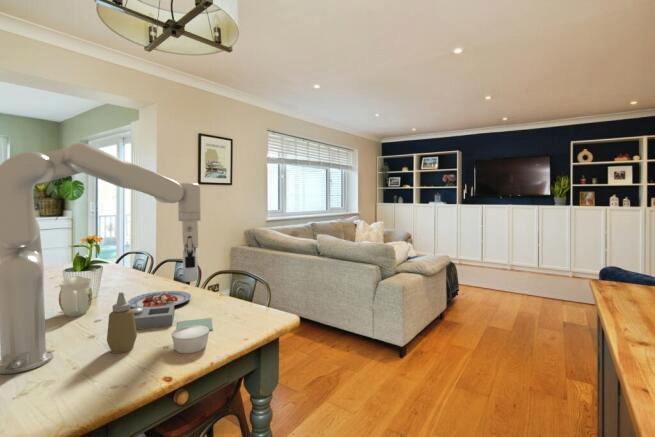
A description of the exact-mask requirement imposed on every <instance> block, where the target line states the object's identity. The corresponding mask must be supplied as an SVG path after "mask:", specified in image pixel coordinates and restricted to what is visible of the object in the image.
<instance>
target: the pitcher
mask: <svg viewBox="0 0 655 437" xmlns="http://www.w3.org/2000/svg"><path fill="white" fill-rule="evenodd" d="M91 283H92V279H91V278H89V277H82V276H81V275H80V276H79V275H77V276H72V277H70V278H68V279H64V280H62V281H60V282H59V283H58V284H59V288H60V289H59V294H58V305H59V308H60V310H61V312H62V313H63V314H64V315H65V316H66V317H78V316H81V315H85V314H87V312H88V311H89V309H90V307H91V305H92V303H93V289H92V288H91Z"/></svg>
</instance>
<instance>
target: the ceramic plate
mask: <svg viewBox="0 0 655 437" xmlns="http://www.w3.org/2000/svg"><path fill="white" fill-rule="evenodd" d="M191 297H192V295H191V293H189V292H186V291H179V290H163V291H162V290H161V291H154V292H148V293H143V294H140V295H137V296H134V297H131V298H130V299H129V300H128V301H127V302H128V303H130V308H133V309H134V308H148V307H159V306H170V305H174V306H176V305H181V304H183V303H186V302H188V301H189V300H191Z"/></svg>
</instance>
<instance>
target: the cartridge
mask: <svg viewBox="0 0 655 437" xmlns="http://www.w3.org/2000/svg"><path fill="white" fill-rule="evenodd" d="M187 248H188V247H187ZM192 248H193V247H192ZM192 255H193V253H192ZM194 256H195V267H194V268H186V267H185V257H186V249H185V248H184V247H183V250H182V282H186V283H188V282H189V283H191V282H197V281H198V280H199V278H198V277H199V275H198V273H199V271H198V270H199V269H198V268H199V267H198V266H199V265H198V249H197V248H196V247H194Z"/></svg>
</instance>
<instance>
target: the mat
mask: <svg viewBox="0 0 655 437" xmlns="http://www.w3.org/2000/svg"><path fill="white" fill-rule="evenodd" d="M194 325H200V326H206V327H208V328H209V332H210V331H214V330H213V329H214V328H213V319H212V317H208V318H198V319H189V320H178V322H177V327H176V330H177V329H179V328H182V327H186V326H194Z"/></svg>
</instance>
